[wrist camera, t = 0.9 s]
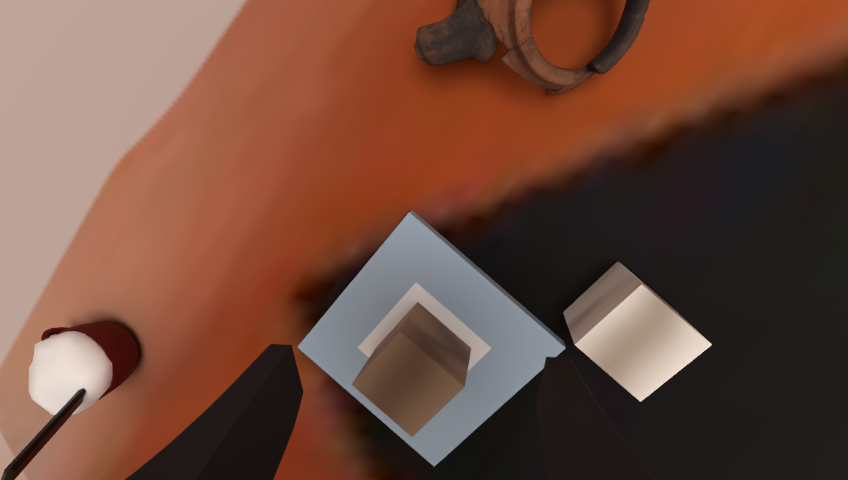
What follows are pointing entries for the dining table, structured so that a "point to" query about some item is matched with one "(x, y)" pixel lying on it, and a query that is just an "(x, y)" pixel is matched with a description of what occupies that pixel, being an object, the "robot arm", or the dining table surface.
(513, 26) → the dark brown curved piece
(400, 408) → the walnut cube
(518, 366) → the blueprint board
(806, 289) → the dining table surface
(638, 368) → the ivory cube
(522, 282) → the dining table surface
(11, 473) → the cocoa
